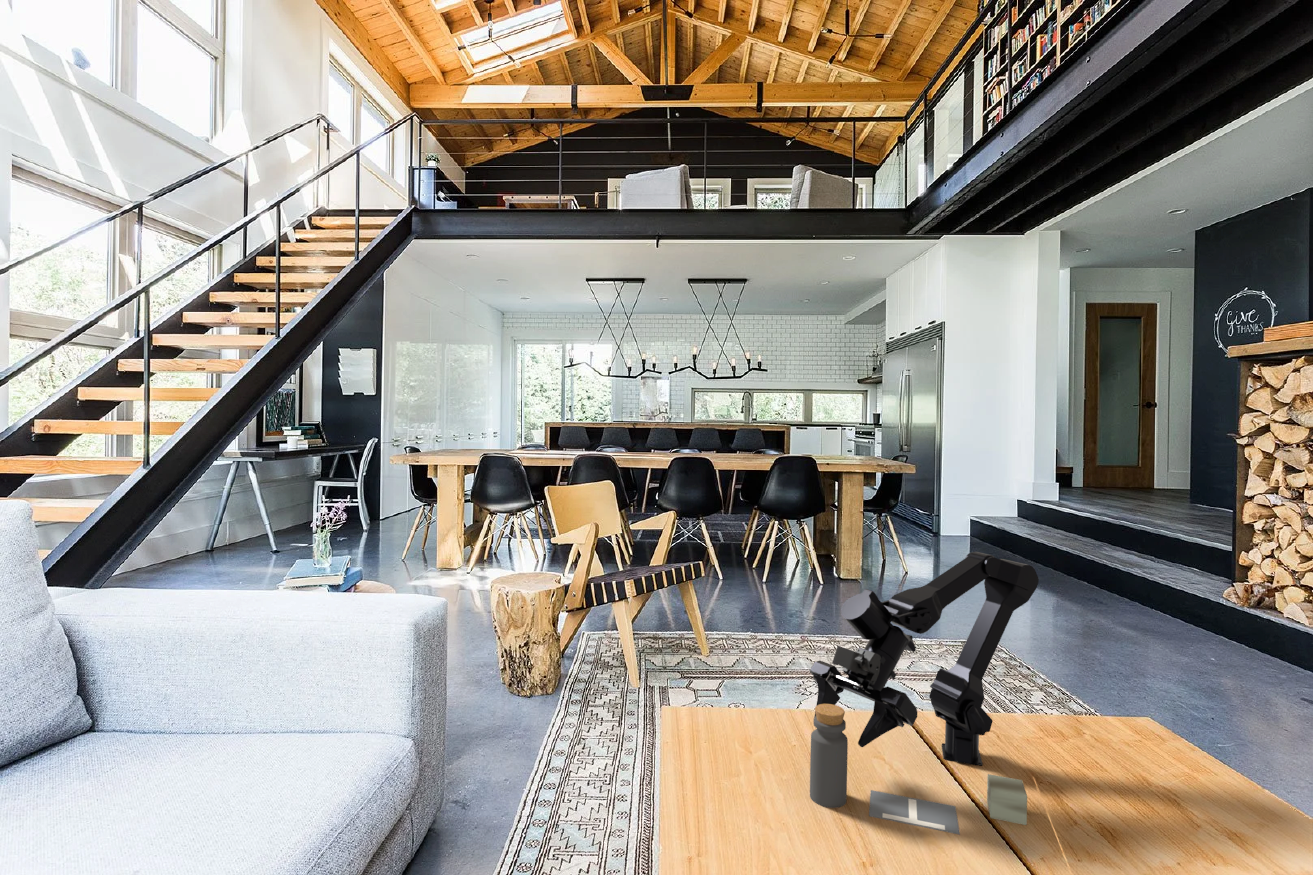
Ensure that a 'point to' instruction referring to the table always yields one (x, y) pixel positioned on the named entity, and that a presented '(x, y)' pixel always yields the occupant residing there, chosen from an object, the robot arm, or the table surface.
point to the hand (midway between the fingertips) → (836, 734)
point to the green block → (1007, 799)
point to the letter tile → (914, 811)
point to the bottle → (829, 757)
